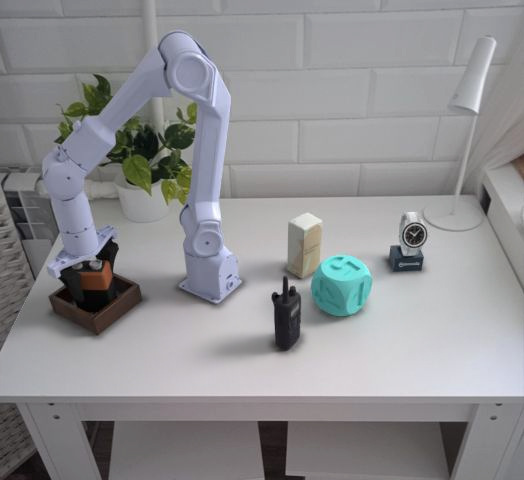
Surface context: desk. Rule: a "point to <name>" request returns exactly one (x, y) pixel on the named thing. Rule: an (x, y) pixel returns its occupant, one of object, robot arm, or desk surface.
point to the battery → (95, 285)
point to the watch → (409, 244)
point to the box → (304, 244)
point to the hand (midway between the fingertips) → (93, 288)
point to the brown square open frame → (105, 316)
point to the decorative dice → (341, 285)
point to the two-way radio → (287, 316)
